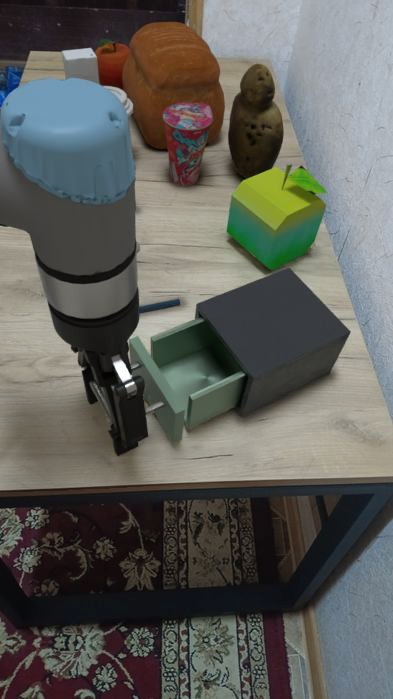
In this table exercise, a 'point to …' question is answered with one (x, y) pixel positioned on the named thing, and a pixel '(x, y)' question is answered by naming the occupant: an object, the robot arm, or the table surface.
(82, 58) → the cosmetic box
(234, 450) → the table surface
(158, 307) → the pencil
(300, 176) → the apple
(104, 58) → the fruit
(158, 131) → the bread
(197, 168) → the cup
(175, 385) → the green drawer
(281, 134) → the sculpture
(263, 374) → the charcoal drawer box
